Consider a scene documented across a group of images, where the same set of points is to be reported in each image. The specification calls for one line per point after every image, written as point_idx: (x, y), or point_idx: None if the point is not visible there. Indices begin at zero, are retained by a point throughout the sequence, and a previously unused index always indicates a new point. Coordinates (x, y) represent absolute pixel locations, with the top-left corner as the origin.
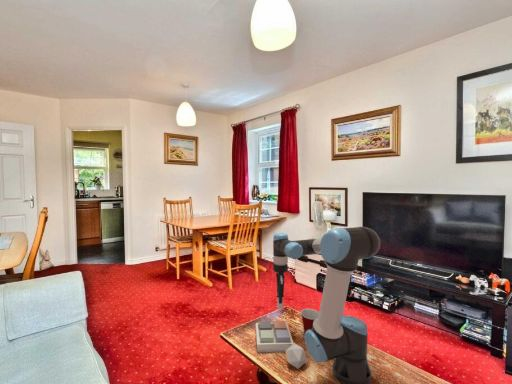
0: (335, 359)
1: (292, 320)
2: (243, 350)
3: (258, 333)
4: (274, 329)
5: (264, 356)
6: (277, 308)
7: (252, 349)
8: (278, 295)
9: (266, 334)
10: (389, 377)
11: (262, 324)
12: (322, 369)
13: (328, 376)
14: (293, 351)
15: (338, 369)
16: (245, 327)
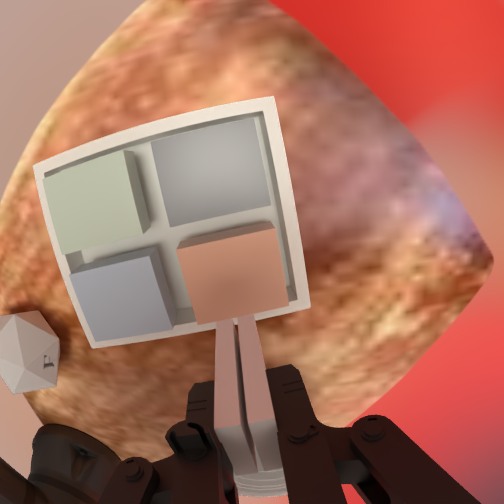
0: (54, 456)
1: (395, 304)
2: (63, 92)
3: (136, 138)
4: (200, 238)
5: (40, 203)
6: (226, 320)
7: (75, 131)
8: (131, 478)
9: (81, 205)
10: None
11: (205, 151)
12: (59, 404)
13: (41, 411)
14: None
15: (36, 445)
16: (289, 45)
